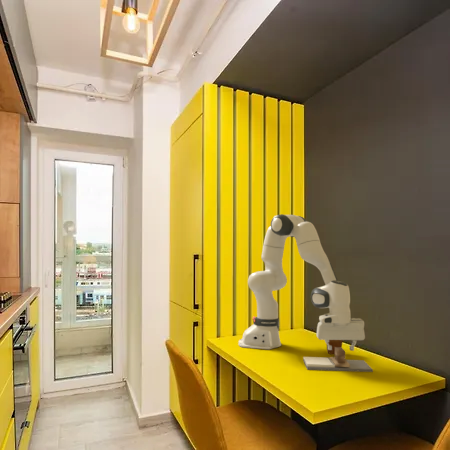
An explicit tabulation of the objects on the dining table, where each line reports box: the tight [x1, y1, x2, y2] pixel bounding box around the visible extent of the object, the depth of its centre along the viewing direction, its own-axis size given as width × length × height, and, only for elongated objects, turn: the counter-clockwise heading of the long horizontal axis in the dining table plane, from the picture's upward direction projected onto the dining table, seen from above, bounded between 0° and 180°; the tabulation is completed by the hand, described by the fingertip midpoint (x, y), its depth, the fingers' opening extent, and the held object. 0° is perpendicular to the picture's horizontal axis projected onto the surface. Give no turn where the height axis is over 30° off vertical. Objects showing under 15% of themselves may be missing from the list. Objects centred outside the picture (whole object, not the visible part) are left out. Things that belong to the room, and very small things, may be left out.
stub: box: [329, 347, 350, 367], centre depth 156 cm, size 6×10×6 cm, turn 176°
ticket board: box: [302, 356, 374, 373], centre depth 156 cm, size 27×12×2 cm, turn 86°
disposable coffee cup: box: [326, 340, 344, 356], centre depth 175 cm, size 10×10×12 cm
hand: (340, 350), depth 156 cm, fingers open, 8 cm apart
